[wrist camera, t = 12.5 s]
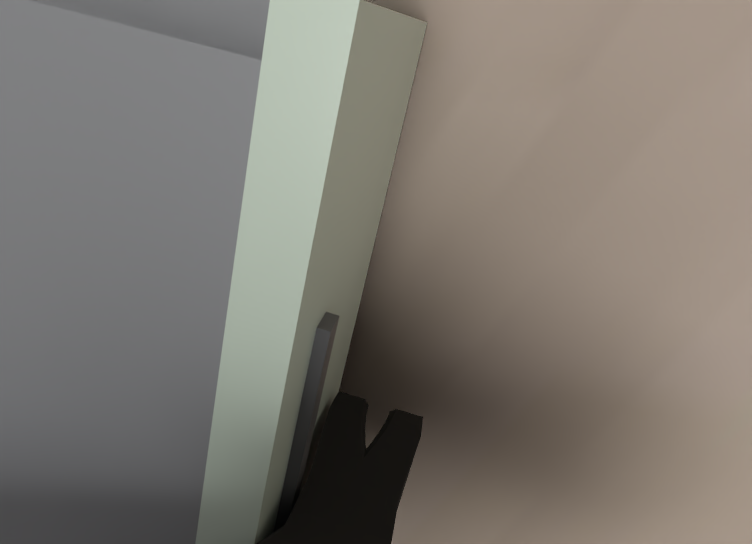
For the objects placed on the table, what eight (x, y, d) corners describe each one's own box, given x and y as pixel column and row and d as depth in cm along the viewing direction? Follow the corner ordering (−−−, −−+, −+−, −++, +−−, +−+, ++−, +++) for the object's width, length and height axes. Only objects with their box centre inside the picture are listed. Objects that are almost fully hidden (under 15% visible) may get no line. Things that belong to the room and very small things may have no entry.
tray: (293, 609, 17) (198, 882, 11) (-51, 493, 18) (-293, 694, 12) (438, 25, 11) (381, 4, 5) (-108, -109, 11) (-661, -251, 6)
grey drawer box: (264, 588, 17) (151, 864, 11) (-68, 477, 18) (-330, 681, 12) (387, 13, 11) (273, -23, 5) (-134, -116, 12) (-732, -268, 6)
